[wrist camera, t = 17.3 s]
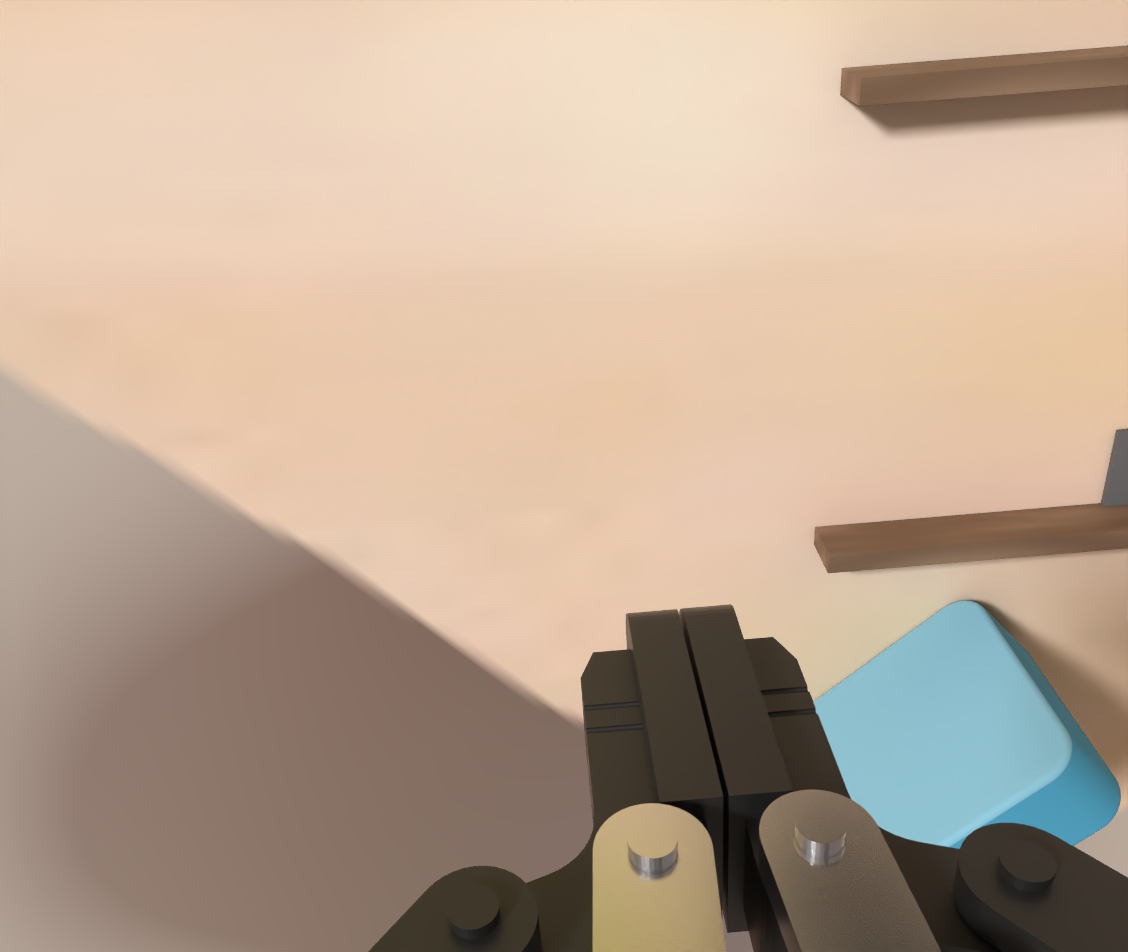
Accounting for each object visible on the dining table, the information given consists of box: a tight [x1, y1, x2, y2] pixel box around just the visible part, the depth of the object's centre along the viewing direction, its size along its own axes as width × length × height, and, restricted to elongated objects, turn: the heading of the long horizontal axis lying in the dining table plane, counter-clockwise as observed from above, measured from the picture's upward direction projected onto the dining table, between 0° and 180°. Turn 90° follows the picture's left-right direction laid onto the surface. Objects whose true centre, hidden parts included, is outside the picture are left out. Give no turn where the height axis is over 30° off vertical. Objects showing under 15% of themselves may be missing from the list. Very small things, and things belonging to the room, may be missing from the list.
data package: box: [813, 600, 1121, 849], centre depth 51 cm, size 12×4×12 cm, turn 135°
